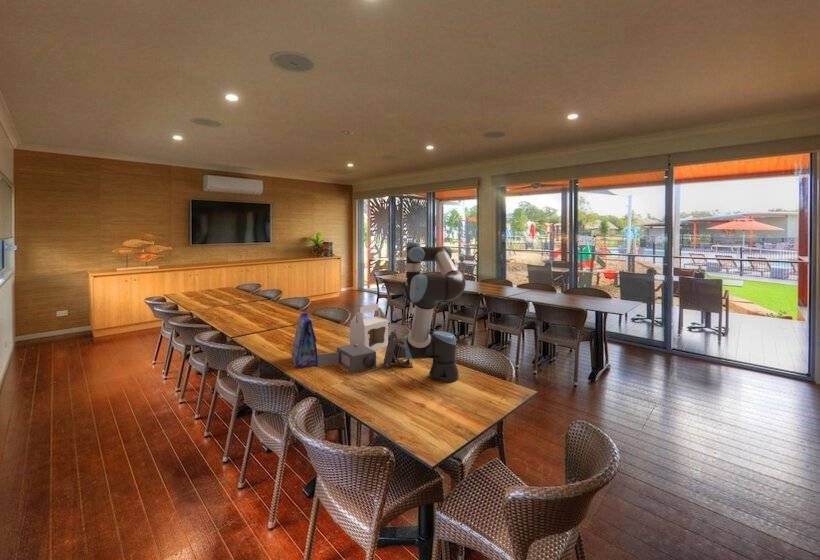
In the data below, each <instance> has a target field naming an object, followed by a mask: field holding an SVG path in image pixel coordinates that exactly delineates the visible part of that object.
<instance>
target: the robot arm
mask: <svg viewBox="0 0 820 560" xmlns="http://www.w3.org/2000/svg"><path fill="white" fill-rule="evenodd" d="M405 251H406V252H405V254H406V262H405V263H406V264H405V270H406V271H405V278H406V281H405V282H403V287H404V292H405V297H406V301H408V303H409V314H411V315H412V314H413V318H412V324H411V330H410V331H409V332H408V334H407V335H404V337H403V345H404V346H405V354H406V358H405V359H406V360H407V359H409V360H419V359H432V364H431V367H430V370H429V373H428V377H429V379H430V380H432V381H433V382H437V383H453V382H456V381H458V380H459V379H460V377H459V376H460V373H459V370H458V367H457V362H456V360H457V355H456V353H457V337H456V336H455V335H454V334H453V333H451V332H448V331H441V330H435V331H433V333H432V335H431V334H430V331H431V326H432V321H433V315H434V310H435V309H436V307H437V306H439V305H438V304H439V302H451V301H454V300H456V299H458V298H459V297H461V296H462V294H463V293H464V291H465V289H466V278H465V276H464V274H463V273H462V272H461V271H459V270H458V268H457V267H456V265H455V264H454V262H453V260H452V249H451V248H450V246H449V247H448V246H421V243H420V242H407V243H406V247H405ZM421 262H435V264H436V265H437V268H438V270H439V272H440V274H425V273H421V272H420V268H421Z"/></svg>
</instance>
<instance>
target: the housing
mask: <svg viewBox="0 0 820 560" xmlns="http://www.w3.org/2000/svg"><path fill="white" fill-rule="evenodd" d="M338 351H340V360H341V363H340V364H339V365H341V366H342V367H343V368H345V369H347V370H348V371H350V372H351V373H357V372H358V373H359V372H363V371H366V370H367V371H368V370H371V369H375V368H377V351H376V350H372V349H370V348H368V347H366V346H364V345H361V344H359V343H357V344H352V345H350V344H347V345H341V346H337V347H336V352H338Z"/></svg>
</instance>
